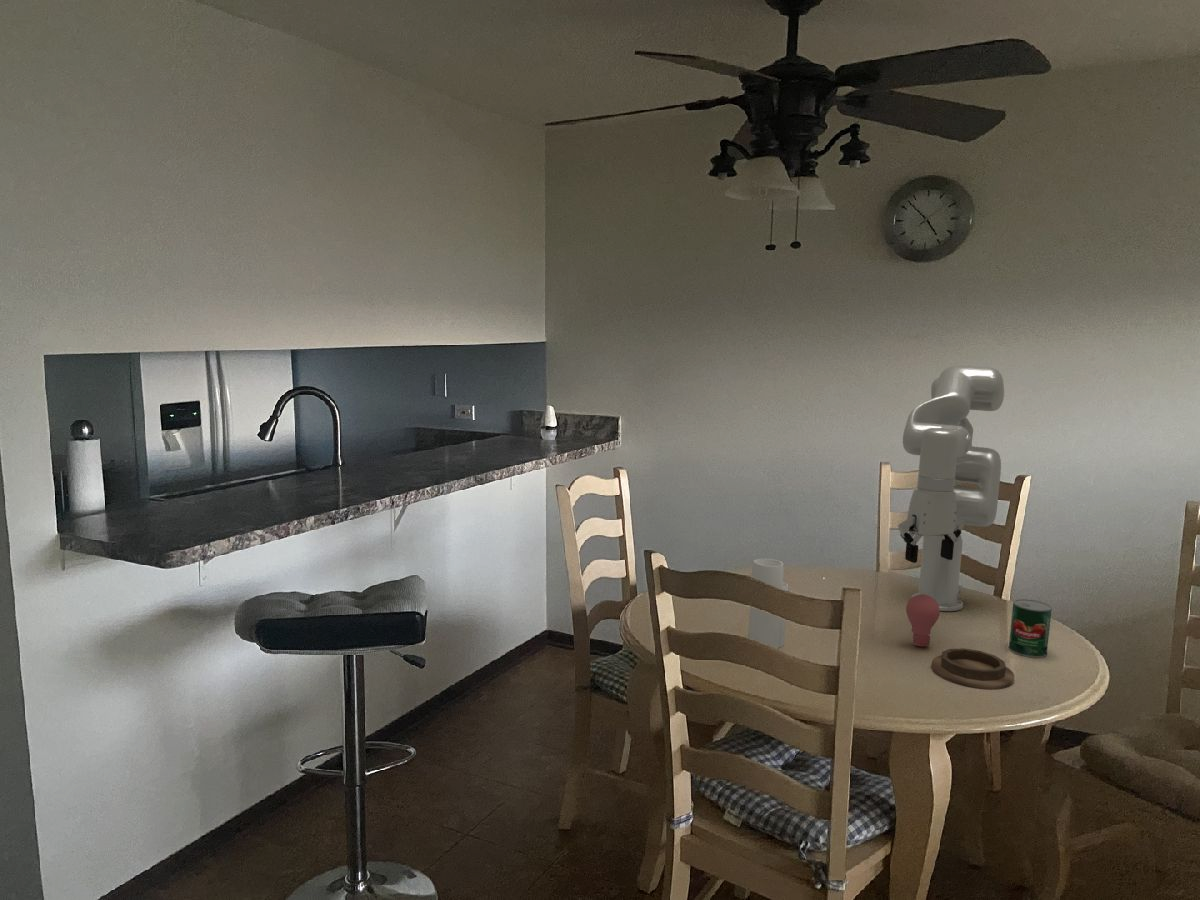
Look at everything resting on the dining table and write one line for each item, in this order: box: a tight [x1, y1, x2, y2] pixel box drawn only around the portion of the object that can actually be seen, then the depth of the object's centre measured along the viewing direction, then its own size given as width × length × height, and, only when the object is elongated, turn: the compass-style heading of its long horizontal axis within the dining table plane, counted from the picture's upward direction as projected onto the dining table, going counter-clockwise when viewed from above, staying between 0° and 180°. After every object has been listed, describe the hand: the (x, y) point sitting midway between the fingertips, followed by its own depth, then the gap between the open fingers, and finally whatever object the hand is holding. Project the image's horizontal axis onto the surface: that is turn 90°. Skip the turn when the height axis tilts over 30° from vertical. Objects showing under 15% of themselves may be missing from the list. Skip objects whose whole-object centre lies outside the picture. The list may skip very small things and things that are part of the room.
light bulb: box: [905, 594, 941, 647], centre depth 197 cm, size 7×7×12 cm
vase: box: [747, 558, 789, 650], centre depth 193 cm, size 11×7×20 cm, turn 155°
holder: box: [930, 648, 1015, 690], centre depth 183 cm, size 16×16×3 cm
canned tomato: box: [1008, 598, 1053, 659], centre depth 196 cm, size 8×8×11 cm
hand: (928, 559), depth 195 cm, fingers open, 9 cm apart
